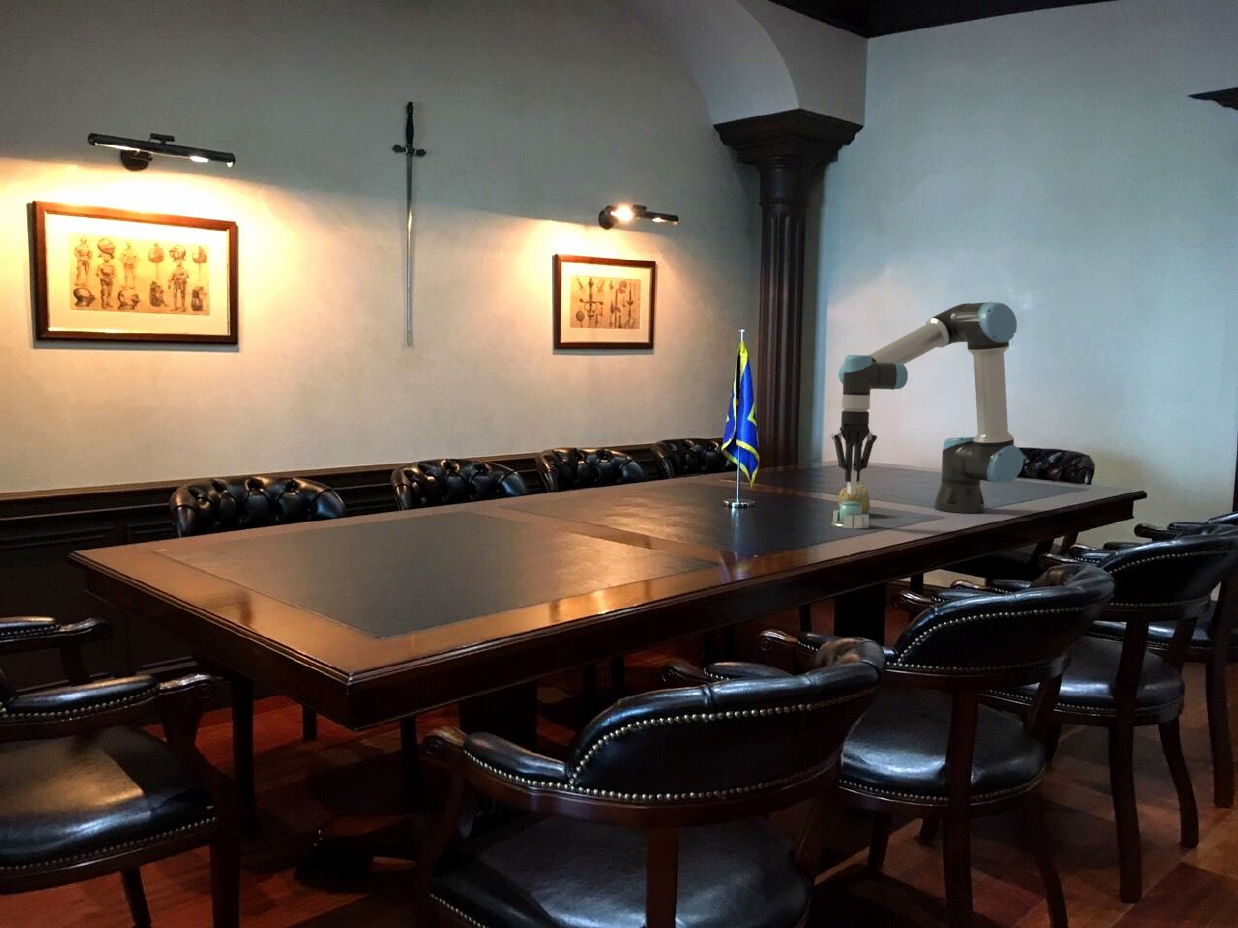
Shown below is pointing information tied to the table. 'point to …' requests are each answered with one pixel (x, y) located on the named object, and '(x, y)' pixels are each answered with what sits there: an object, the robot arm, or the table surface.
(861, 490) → the coral
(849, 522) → the grey ring-shaped piece
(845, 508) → the teal rounded cylinder
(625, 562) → the table surface
